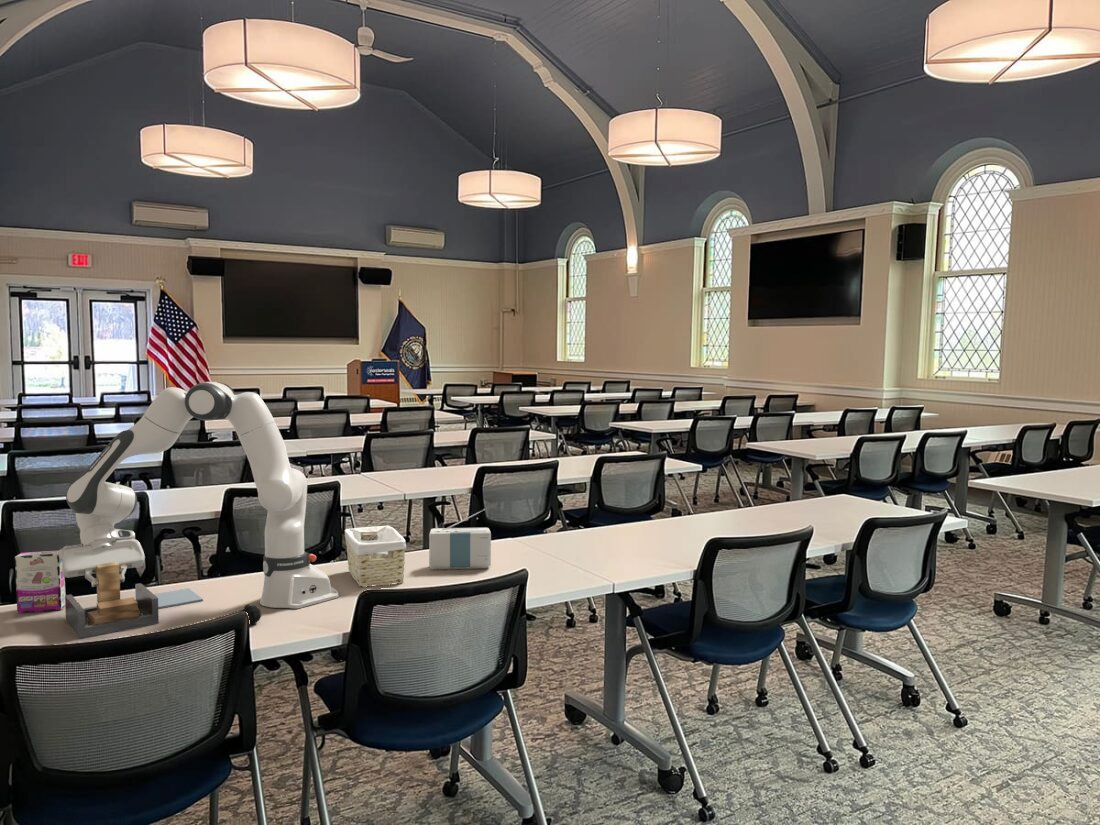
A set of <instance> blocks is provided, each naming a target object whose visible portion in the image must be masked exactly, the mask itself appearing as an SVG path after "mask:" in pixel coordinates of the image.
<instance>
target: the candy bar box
mask: <svg viewBox="0 0 1100 825" xmlns="http://www.w3.org/2000/svg"><path fill="white" fill-rule="evenodd" d="M58 552H59V550H48V551H47V550H46V551H32V552H31V551H30V552H20V553H18V554H17V555H16V556H14V569H15V570H14V571H15V588H16V592H15V593H16V609H17V610H16V611H17V614H27V613H28V614H29V613H39V612H40V613H41V612H53V611H61V610H63V609H65V595H66V582H65V581H66V577H65V576H63V572H62V560H60V558H59V555H58Z"/></svg>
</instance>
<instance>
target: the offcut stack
mask: <svg viewBox="0 0 1100 825" xmlns="http://www.w3.org/2000/svg"><path fill="white" fill-rule="evenodd" d="M96 606H97V611H92V612H88V618H87V626H89V625H94V624H100V623H105V622H111V621H116V620H121V619H127V618H132V617H138V616H143V615H142V614H141V613H140V612H139V609H138V602H137V601H136V598H135V597H129V598H120V600H113V601H107V602H100V603H96Z"/></svg>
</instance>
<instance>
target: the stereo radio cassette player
mask: <svg viewBox="0 0 1100 825" xmlns="http://www.w3.org/2000/svg"><path fill="white" fill-rule="evenodd" d="M483 511H486V508H483V509H481V510H480V511H478V512H476V513H473V514H472V515H470V516H468V517H466V518H464V519H461V520H459V521H457V522H456V523H454V524H452V525H449V526H448V527H446V528H445V527H444V528H443V527H442V528H441V527H440V528H439V527H438V528H431V529H430V532H429V534H428V539H429V543H428V545H429V548H428V549H429V550H428V551H429V553H428V556H429V558H428V559H429V561H428V562H429V568H430V569H431V570H433V569H435V570H453V569H454V570H459V569H462V570H463V569H467V570H468V569H485V570H486V569H488V568H489V567H491V565H492V558H491V557H492V553H491V552H492V550H491V549H492V532H491V530H490V528H489V527H455V526H456V525H459V524H460V523H463V522H464V521H467V520H469V519H471V518H472V517H474V516H476V515H477V514H479V513H481V512H483Z"/></svg>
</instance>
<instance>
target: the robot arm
mask: <svg viewBox="0 0 1100 825" xmlns="http://www.w3.org/2000/svg"><path fill="white" fill-rule="evenodd" d="M145 410H146V411H145V412H144V413H143V415H142V417H141V418H139V420H138V421H137V422H136V423H135V424H133V426H131V427H130V428H128V429H124V430H122V431H120V432H119V433H117V434H116V436H114V438H112V440H110V442H109V443H108V444H107V445H106V447H104V448H103V450H102V451H101V453H99V455H98V456H97V457H96V458H95V460H94V461H93V462H91V464H90V465H89V467H88V468H87V469H86V470H85V471H84V472H83V473H82V474H81V475H80V476H78V477H77V478H76V479H75V480H74V481H72V483H71V484H70V486H68V488H67V491H66V494H65V500H66V502H67V505H68V506H69V508H70V509H71V511H73V512H74V513H75V519H76V523H77V527H78V528H79V538H80V543H79V544H73V545H65V546H63V547H62V548H60V549H59V550H58V551H59V552H58V555H59V558H60V560H62V572H63V576H65V579H66V578H68V579H69V578H74V577H75V578H76V577H81V576H84V578H85V579H86V580H87V581H89V582H90V583H91V587H92V588H94V587H96V588H97V586H98V585H99V581H98V578H96V577H94V576H93V574H94V575H96V565H99V564H106V563H113V562H117V563H118V564H119V576H120V583H124V582H125V580H126V579H125V578H126V577H125V574H126V572H127V569H133V568H141V567H142V566H143V565H144V563H145V559H146V556H145V553H144V549H143V547H142V545H141V543H140V542H139V540H137V539H136V533H135V532H134V531H133V530H129V529H128V530H127V529H120V528H115V525H116V524H119V523H121V522H123V521H124V520H126V519H127V518H128V517H130V516H131V515H132V514H134V512H135V511H136V509H137V506H138V497H137V494H136V491H135V490H134V489H133V488H132V487H131V486H130V487H129V486H126V485H122V484H119V483H112V482H108V481H106V480H108V478H109V477H110V476H111V475H112V473H113V472H114V471H115V470H116V468H117V467H118V466H119V465H120V463H122V462H123V461H124V460H127V459H128V458H130V457H135V456H139V455H140V456H141V455H149V454H151V455H154V454H158V453H159V454H160V453H163V452H165V451H167V450H169V449H170V448H171V447H173V445H174V444H175V443H176V442H177V440H178V438H179V437H180V435H181V434H182V432H183V430H184V429H185V427H186V425H187V424H188V423H189V421H191V419H193V418H195V419H197V420H199V421H200V420H201V421H205V422H206V421H208V422H209V421H217V420H228V421H229V422H230V424H231V425H232V427H233V428H234V430H235V433H236V435H237V437H238V440H239V442H240V444H241V447H242V449H243V450H244V451H243V452H244V454H245V456H246V457H247V460H248V462H249V466H250V468H251V474H252V477H253V480H254V481H253V482H254V484H255V487H256V490H257V498H258V502H259V504H260V505H261V507H263V509H265V510H267V513H266V514H267V516H266V521H265V526H264V555H263V563H262V565H263V566H262V570H263V574H264V577H263V578H264V580H263V587H262V593H261V596H260V600H259V604H260V605H261V606H263V607H267V608H274V609H275V608H276V609H277V608H278V609H282V608H283V609H284V608H286V609H294V610H295V609H301V608H305V607H308V606H311V605H315V604H320V603H323V602H327V601H331V600H334V599H336V598H337V597H338V598H339V597H340V596H339V594H340V593H339V591H338V590H337V589H335V588H334V587H332V586H331V581H330V577H329V576H328V575H327V573H325V572H324V571H323V570H320V568H318V567H316V566H315V565H313V564H311V562H312V563H313V562H315V561H316V560H317V556H316V555H315V554H313V553H309V552H306V551H305V521H306V510H307V499H308V498H307V497H308V496H307V495H308V494H307V493H308V480H307V477H306V475H305V474H304V473H303V472H302V471H300V470H299V469H298V468H297V469H296V468H293V467H292V465H291V463H290V461H289V456H288V452H287V446H286V443H285V441H284V439H283V436H282V434H281V431H280V430H279V428H278V425H277V424H276V421H275V419H274V417H273V415H272V413H271V411H270V410H269V407H268V406H267V404H266V403H265V402H264V400H263V399H262V397H261V396H260V395H259V394H258V393H256V392H251V391H245V392H241V393H238V394H236V393H235V391H234V389H233V388H232V387H231V386H230V385H228V384H226V383H223V382H216V381H204V382H200V383H196V384H195V385H193V386H192V387H190V388H189V390H188V391H187V390H185V389H182V388H180V387H175V386H174V387H172V386H170V387H166V388H164V389H162V391H161V392H160V393H159V394H158V395H157V396H156V397H155V398H154V399H153V400H152V402H151V404H150V405H149V406H148V408H147V409H145Z"/></svg>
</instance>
